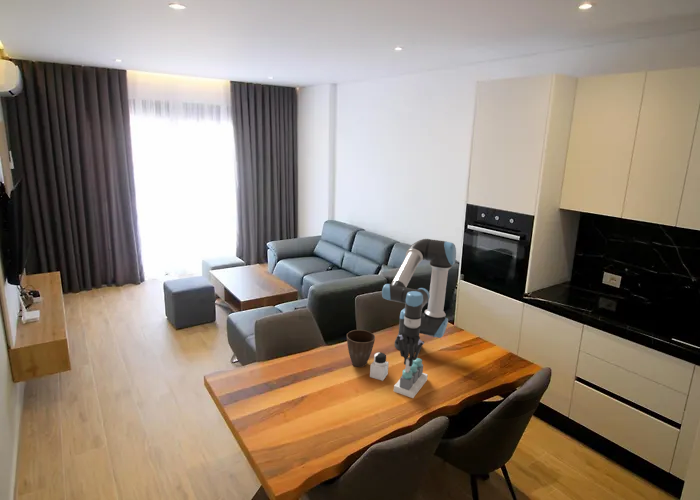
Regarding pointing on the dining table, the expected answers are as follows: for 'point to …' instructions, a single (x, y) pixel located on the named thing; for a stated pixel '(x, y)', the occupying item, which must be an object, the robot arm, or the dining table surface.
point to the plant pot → (360, 346)
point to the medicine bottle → (379, 367)
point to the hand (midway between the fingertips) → (407, 371)
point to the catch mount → (411, 383)
